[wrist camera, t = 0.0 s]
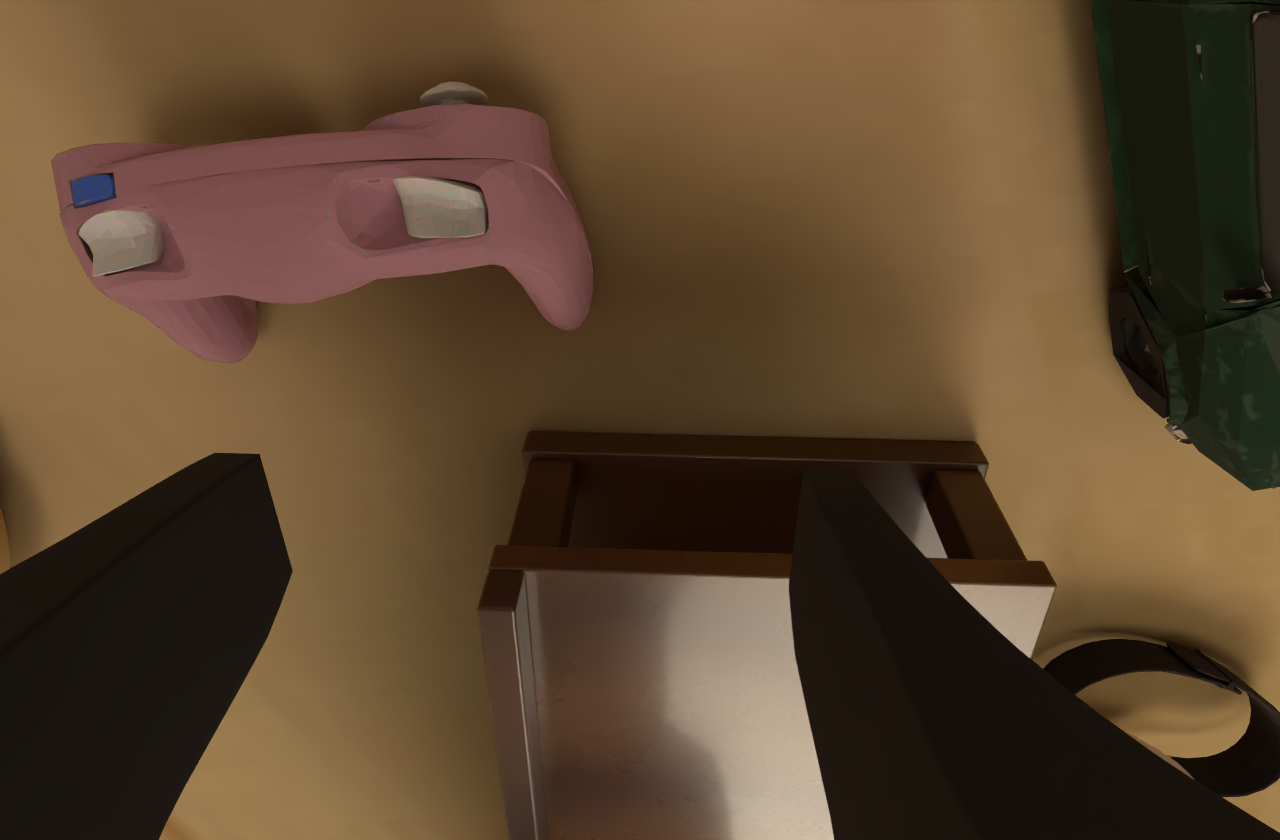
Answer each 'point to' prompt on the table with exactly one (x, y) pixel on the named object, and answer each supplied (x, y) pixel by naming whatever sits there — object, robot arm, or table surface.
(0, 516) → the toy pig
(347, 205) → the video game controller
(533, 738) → the shelf rack
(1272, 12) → the miniature car
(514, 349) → the table surface
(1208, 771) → the watch
